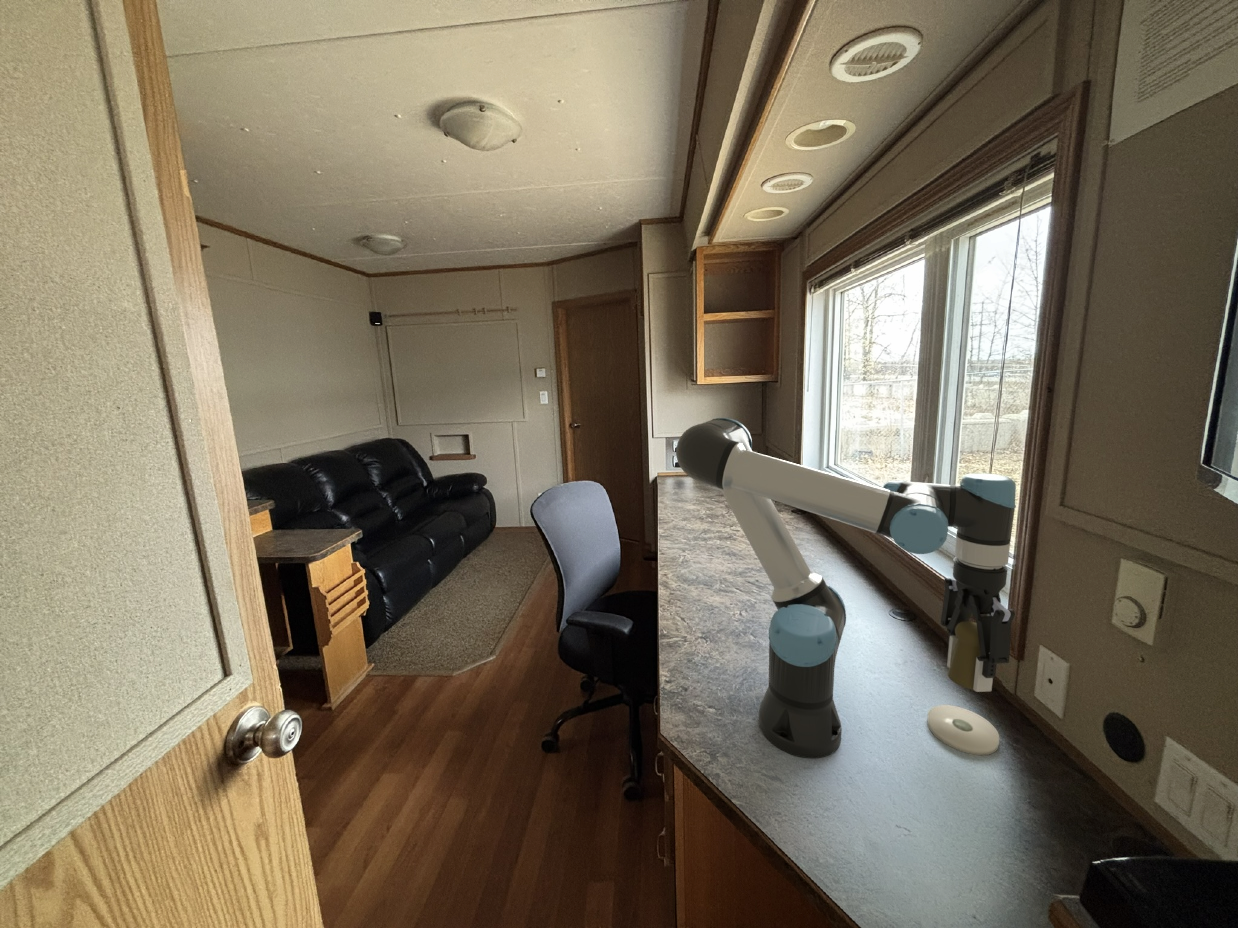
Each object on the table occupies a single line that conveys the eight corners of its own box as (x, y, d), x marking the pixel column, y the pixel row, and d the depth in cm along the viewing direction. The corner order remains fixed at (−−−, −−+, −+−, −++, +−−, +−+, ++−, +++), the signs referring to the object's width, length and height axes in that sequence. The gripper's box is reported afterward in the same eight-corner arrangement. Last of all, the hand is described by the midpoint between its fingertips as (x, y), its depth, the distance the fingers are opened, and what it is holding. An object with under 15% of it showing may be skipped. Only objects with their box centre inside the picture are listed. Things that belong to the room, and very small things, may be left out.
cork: (949, 665, 91) (954, 613, 89) (988, 677, 88) (995, 623, 85) (946, 681, 87) (951, 627, 85) (987, 694, 83) (994, 638, 81)
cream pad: (953, 756, 84) (954, 749, 84) (914, 712, 95) (915, 706, 94) (1014, 753, 84) (1015, 746, 84) (968, 710, 95) (969, 703, 95)
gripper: (1050, 583, 73) (1033, 713, 78) (962, 541, 92) (952, 647, 96) (1003, 586, 73) (988, 715, 78) (924, 543, 92) (915, 649, 96)
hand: (968, 677), depth 87 cm, fingers closed on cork, 6 cm apart
